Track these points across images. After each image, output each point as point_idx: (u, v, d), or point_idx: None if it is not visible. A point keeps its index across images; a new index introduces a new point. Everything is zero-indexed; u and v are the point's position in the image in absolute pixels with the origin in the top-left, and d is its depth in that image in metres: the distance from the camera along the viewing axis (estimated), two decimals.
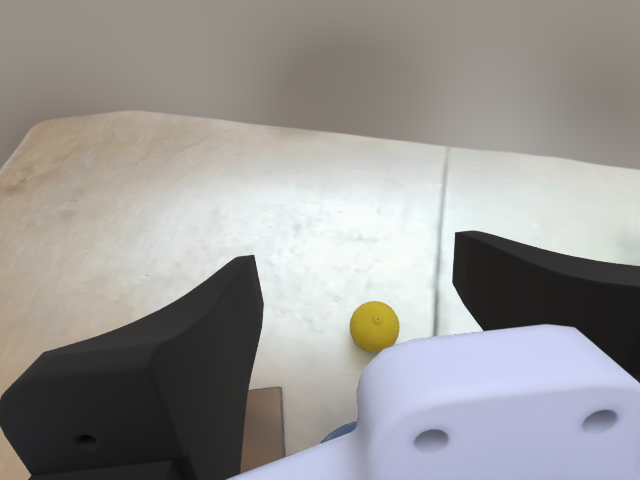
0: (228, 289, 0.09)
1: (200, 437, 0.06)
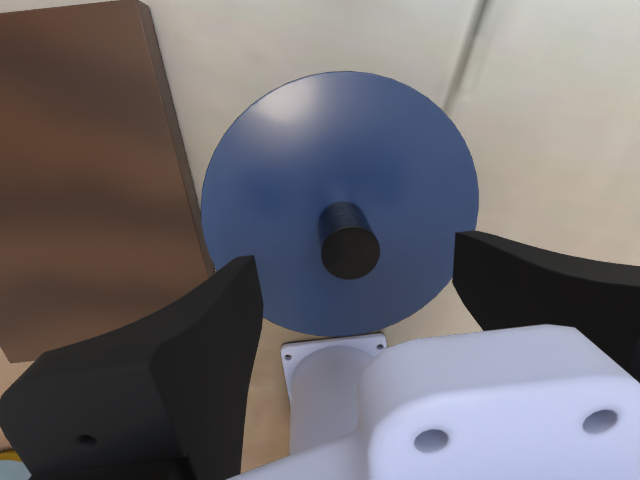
0: (228, 289, 0.09)
1: (200, 437, 0.06)
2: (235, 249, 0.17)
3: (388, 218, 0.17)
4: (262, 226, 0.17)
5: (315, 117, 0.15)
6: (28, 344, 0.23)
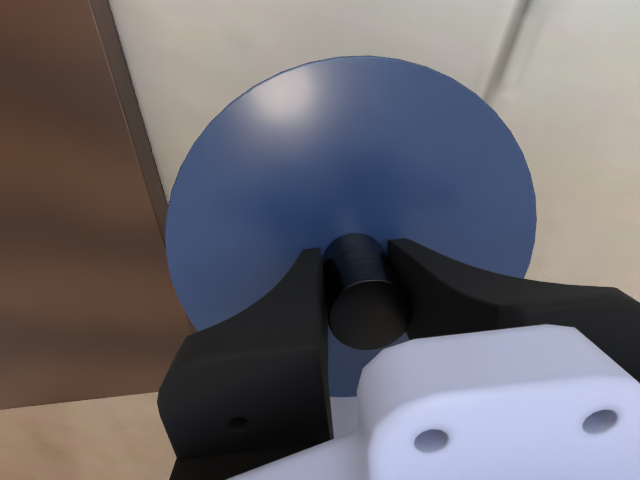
0: (317, 279, 0.09)
1: (329, 422, 0.06)
2: (212, 293, 0.13)
3: None
4: (247, 265, 0.13)
5: (319, 120, 0.11)
6: None
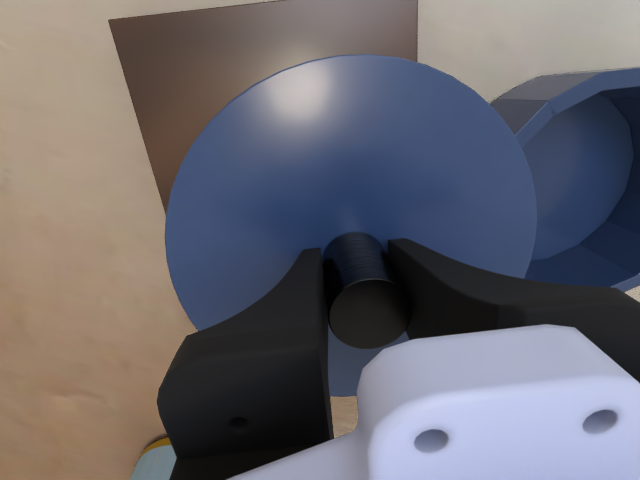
0: (317, 280, 0.09)
1: (329, 422, 0.06)
2: (213, 292, 0.13)
3: None
4: (247, 264, 0.13)
5: (319, 119, 0.11)
6: None
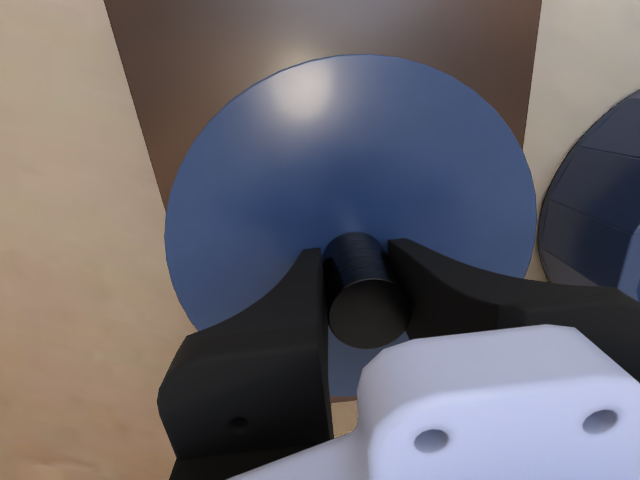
0: (317, 279, 0.09)
1: (329, 422, 0.06)
2: (212, 293, 0.13)
3: None
4: (247, 264, 0.13)
5: (319, 119, 0.11)
6: None
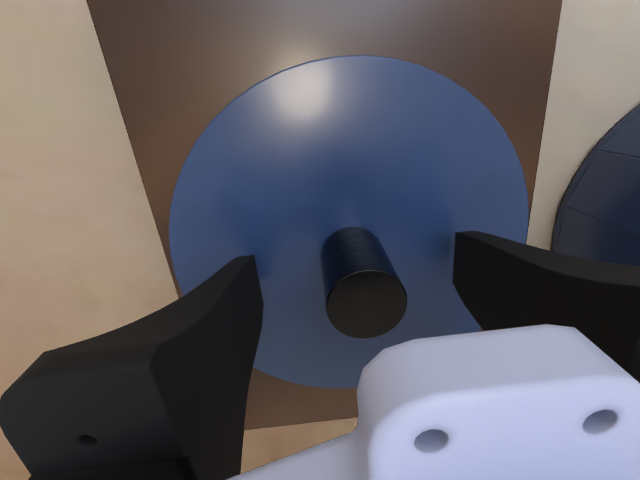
0: (228, 289, 0.09)
1: (200, 437, 0.06)
2: None
3: (411, 247, 0.13)
4: None
5: (318, 117, 0.11)
6: (251, 410, 0.18)
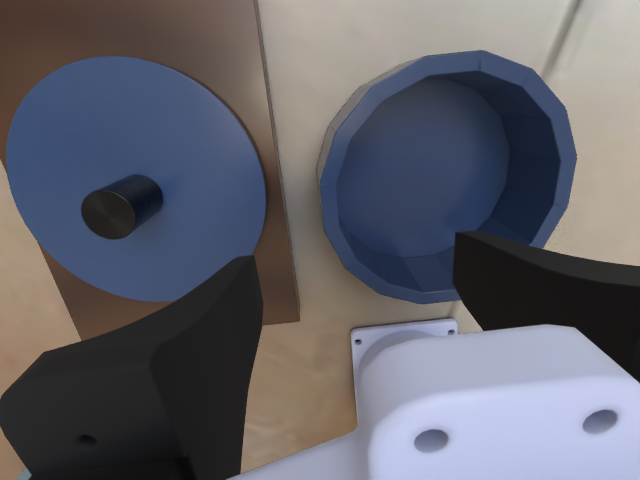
0: (228, 289, 0.09)
1: (200, 437, 0.06)
2: (47, 217, 0.19)
3: (182, 190, 0.19)
4: (67, 196, 0.19)
5: (94, 97, 0.17)
6: (103, 325, 0.23)
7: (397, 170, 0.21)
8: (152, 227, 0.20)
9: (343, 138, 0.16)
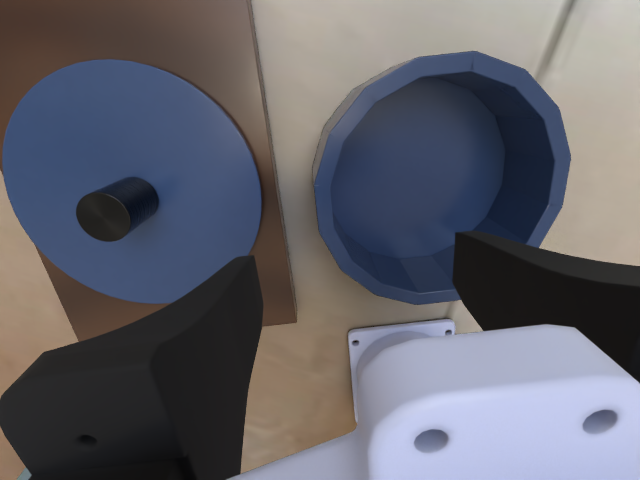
0: (228, 290, 0.09)
1: (200, 437, 0.06)
2: (43, 220, 0.19)
3: (178, 192, 0.19)
4: (63, 199, 0.19)
5: (90, 100, 0.17)
6: (101, 326, 0.23)
7: (392, 171, 0.21)
8: (148, 229, 0.20)
9: (337, 139, 0.16)
